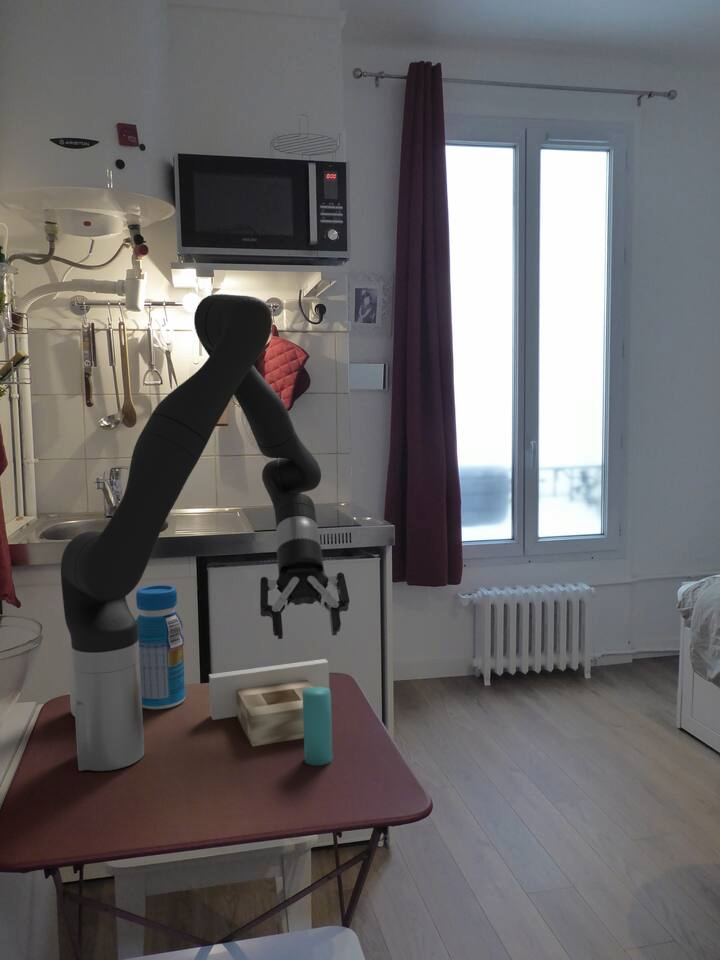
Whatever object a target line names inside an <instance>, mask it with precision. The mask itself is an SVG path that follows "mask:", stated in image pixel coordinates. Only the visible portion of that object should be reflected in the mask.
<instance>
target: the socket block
mask: <svg viewBox="0 0 720 960" xmlns="http://www.w3.org/2000/svg"><path fill="white" fill-rule="evenodd" d="M311 687H313V686H312V685H311V684H310V683H309V681H308V680H302V681H295V682H288V683H280V684H273V685H266V686H259V687H252V688H245V689H238V690H236V691H237V716H236V717H237V719H238V721H239V724H240V725H241V728H242V730H243V731H244V733H245V735H246V737H247V739H248V741H249V743H250V745H251V746H252V747H257V746H263V745H268V744H275V743H281V742H287V741H294V740H299V739H304V724H303V694H302V692H303V691H304V690H305V689H307V688H311Z"/></svg>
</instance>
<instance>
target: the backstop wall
mask: <svg viewBox="0 0 720 960" xmlns="http://www.w3.org/2000/svg"><path fill="white" fill-rule="evenodd" d="M329 665H330V663H329V661H328V660H327V659H326V658H322V659H315V660H307V661H306V660H305V661H299V662H292V663H283V664H277V665H269V666H262V667H261V666H260V667H255V668H249V669H248V668H246V669H240V670H233V671H226V672H224V671H223V672H217V673H209V674H208V679H209V680H208V681H209V685H208V686H209V702H210V703H209V706H210V717H211V720H212V721H215V720H222V719H228V718H233V717H235V718H236V717H237V691H236V690H238V689H245V688H252V687H259V686H266V685H273V684H280V683H288V682H295V681H302V680H308V681H309V683H310V684H311V685H312V686H313V687H325V688H328V689H330V668H329V667H330V666H329Z"/></svg>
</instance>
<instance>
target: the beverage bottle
mask: <svg viewBox="0 0 720 960" xmlns="http://www.w3.org/2000/svg"><path fill="white" fill-rule="evenodd" d="M177 591H178V590H177V589H176V587H175V586H173V585H167V584H161V585H160V584H157V585H155V584H154V585H149V586H144V587H141V588H139V589H137V590H136V594H135V597H136V598H135V599H136V600H135V603H136V608H137V610H138V611H139V612H140V613H139V615H138V616H137V618H136V619H135V620H136V622H137V625H138V640H139V660H140V678H141V697H142V709H147V710H164V709H170V708H173V707H177V706H179V705H180V704H182V703H183V702H184V701H185V700H186V687H185V684H186V683H185V660H184V659H185V657H184V645H185V639H184V638H185V637H184V635H183V634H182V630H183V622H182V620H181V618H180V615H179V614H178V612H177V611H175V608H177V606H178V605H177V604H178V596H177V595H178V594H177V593H178V592H177Z"/></svg>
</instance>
